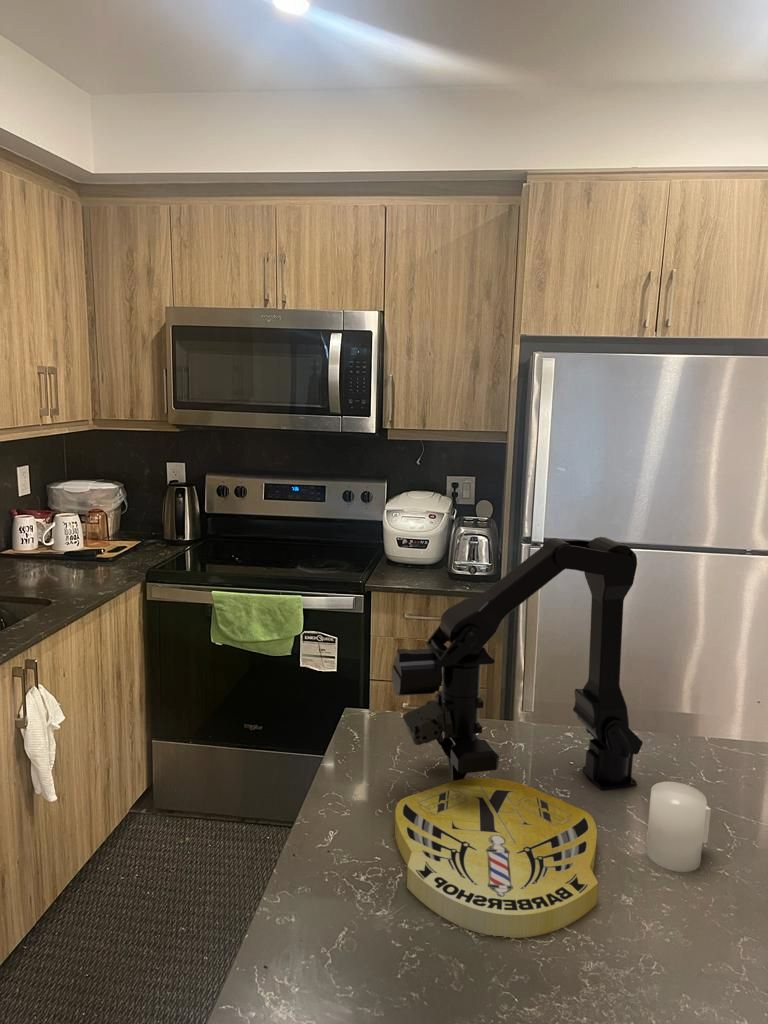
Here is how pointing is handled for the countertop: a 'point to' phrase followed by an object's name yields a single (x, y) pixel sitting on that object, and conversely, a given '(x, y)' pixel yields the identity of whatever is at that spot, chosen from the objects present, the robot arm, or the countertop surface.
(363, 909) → the countertop surface
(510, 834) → the sign
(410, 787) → the countertop surface
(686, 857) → the night light
